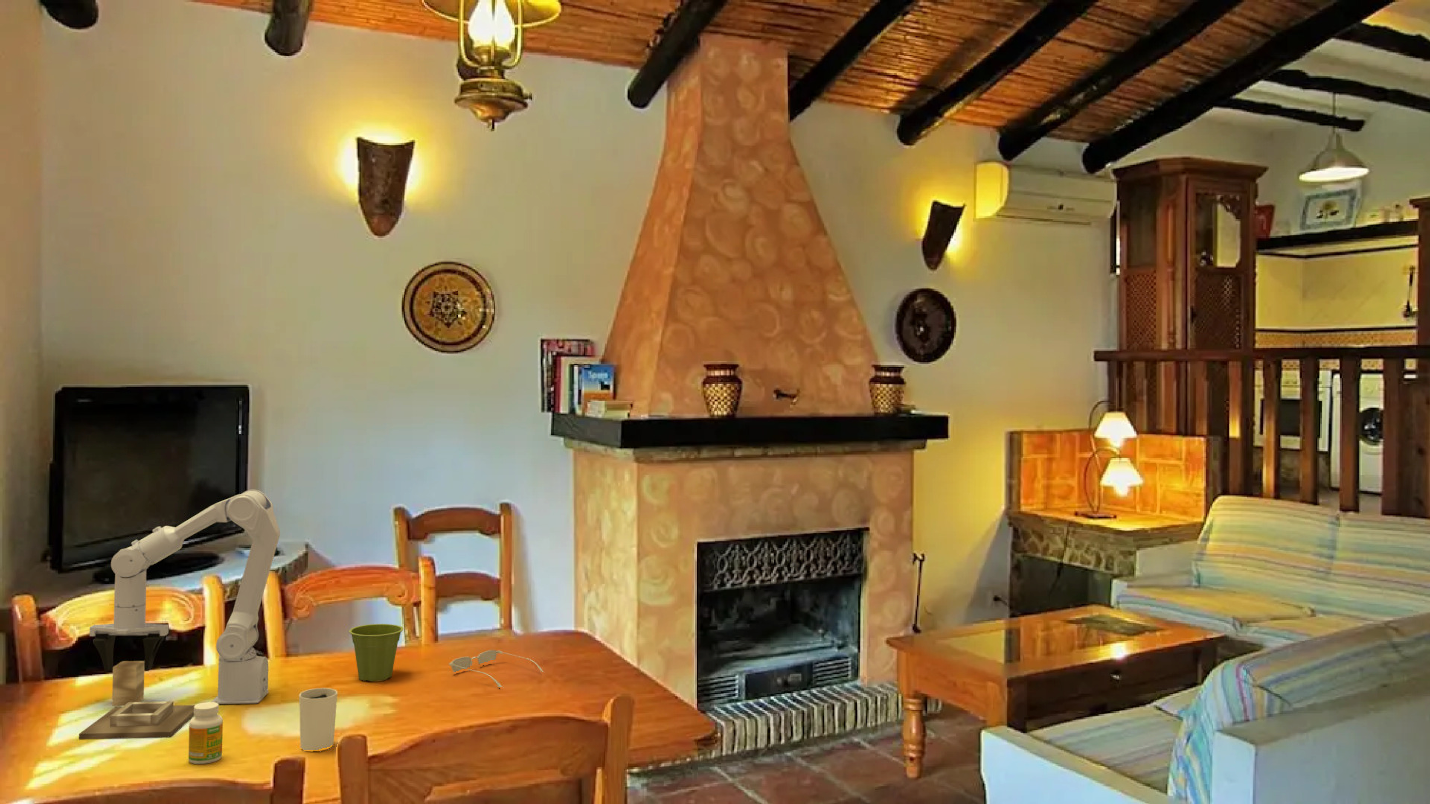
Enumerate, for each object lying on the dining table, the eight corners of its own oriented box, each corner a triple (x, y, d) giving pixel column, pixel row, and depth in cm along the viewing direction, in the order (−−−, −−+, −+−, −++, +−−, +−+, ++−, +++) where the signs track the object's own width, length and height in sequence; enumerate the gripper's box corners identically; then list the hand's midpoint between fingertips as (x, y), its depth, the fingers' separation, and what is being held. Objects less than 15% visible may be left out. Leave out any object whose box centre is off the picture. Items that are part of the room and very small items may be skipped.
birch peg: (143, 698, 213) (144, 661, 213) (135, 705, 208) (135, 667, 208) (121, 699, 212) (122, 661, 212) (112, 706, 208) (112, 667, 208)
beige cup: (304, 740, 192) (305, 688, 191) (340, 740, 192) (341, 688, 192) (292, 753, 185) (294, 699, 185) (330, 753, 186) (331, 699, 185)
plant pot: (413, 676, 234) (414, 628, 234) (371, 688, 224) (372, 638, 224) (379, 667, 241) (380, 620, 240) (336, 679, 231) (338, 630, 230)
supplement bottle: (208, 766, 178) (209, 711, 177) (181, 763, 179) (182, 708, 179) (228, 755, 183) (229, 702, 183) (202, 752, 184) (203, 699, 184)
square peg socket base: (200, 709, 207) (200, 695, 207) (170, 737, 191) (170, 721, 191) (115, 711, 204) (116, 696, 204) (78, 739, 189) (79, 723, 189)
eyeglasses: (497, 664, 248) (498, 648, 248) (550, 678, 238) (550, 661, 238) (447, 677, 236) (448, 660, 236) (500, 693, 225) (501, 675, 225)
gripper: (83, 609, 205) (81, 675, 205) (160, 609, 207) (158, 675, 207) (98, 601, 212) (97, 666, 212) (172, 601, 214) (171, 665, 214)
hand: (128, 669), depth 210 cm, fingers open, 7 cm apart
